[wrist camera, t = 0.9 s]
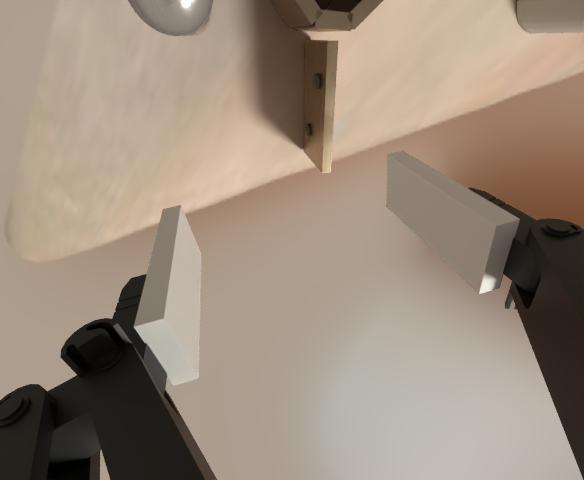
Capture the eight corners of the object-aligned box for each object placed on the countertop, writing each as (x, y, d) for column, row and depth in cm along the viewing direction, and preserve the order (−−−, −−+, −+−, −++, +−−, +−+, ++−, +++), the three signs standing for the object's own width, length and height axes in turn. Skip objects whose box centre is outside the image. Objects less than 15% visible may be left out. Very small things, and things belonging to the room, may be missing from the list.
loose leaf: (301, 40, 28) (323, 41, 23) (313, 39, 28) (338, 41, 23) (301, 151, 33) (318, 173, 28) (310, 150, 34) (330, 172, 28)
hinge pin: (183, -33, 24) (159, -105, 12) (219, 12, 26) (231, -9, 14) (152, 5, 25) (99, -25, 12) (190, 46, 27) (176, 55, 14)
